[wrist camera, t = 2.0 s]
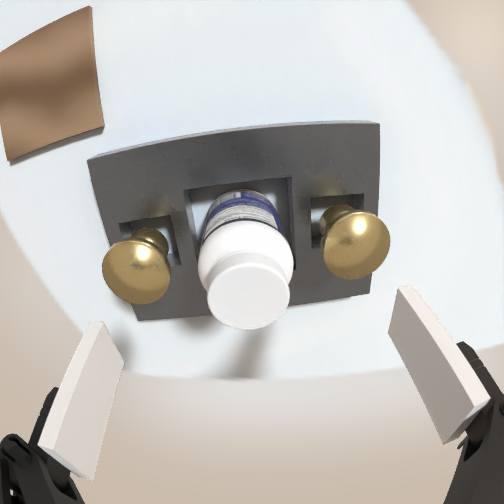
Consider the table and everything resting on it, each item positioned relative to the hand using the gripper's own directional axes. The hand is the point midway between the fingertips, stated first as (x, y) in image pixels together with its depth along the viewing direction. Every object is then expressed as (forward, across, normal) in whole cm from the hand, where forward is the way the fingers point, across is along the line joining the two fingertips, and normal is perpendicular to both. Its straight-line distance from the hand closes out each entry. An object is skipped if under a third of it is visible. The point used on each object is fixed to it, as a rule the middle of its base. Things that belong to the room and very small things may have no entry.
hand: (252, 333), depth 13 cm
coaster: (+12, -14, +14) cm, 23 cm away
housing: (+12, 0, 0) cm, 12 cm away
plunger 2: (+9, +7, 0) cm, 12 cm away
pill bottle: (+12, 0, 0) cm, 12 cm away
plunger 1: (+9, -7, 0) cm, 12 cm away
